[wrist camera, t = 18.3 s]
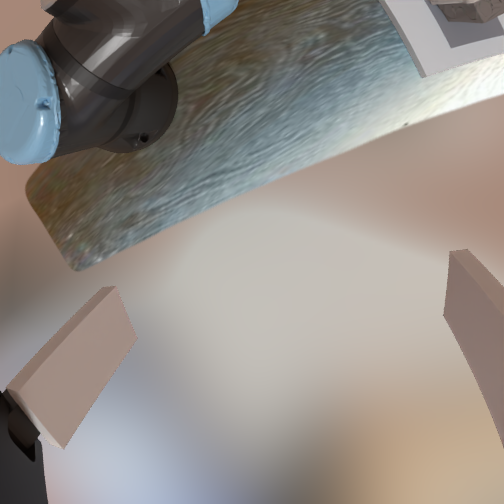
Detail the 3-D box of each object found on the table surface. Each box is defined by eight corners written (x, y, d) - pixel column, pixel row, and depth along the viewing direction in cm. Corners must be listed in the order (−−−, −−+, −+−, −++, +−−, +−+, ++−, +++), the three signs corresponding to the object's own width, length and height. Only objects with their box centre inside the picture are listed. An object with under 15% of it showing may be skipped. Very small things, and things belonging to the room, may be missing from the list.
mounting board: (421, 78, 33) (427, 76, 31) (362, -23, 28) (364, -30, 26) (527, 47, 26) (534, 45, 24) (477, -43, 21) (482, -48, 19)
